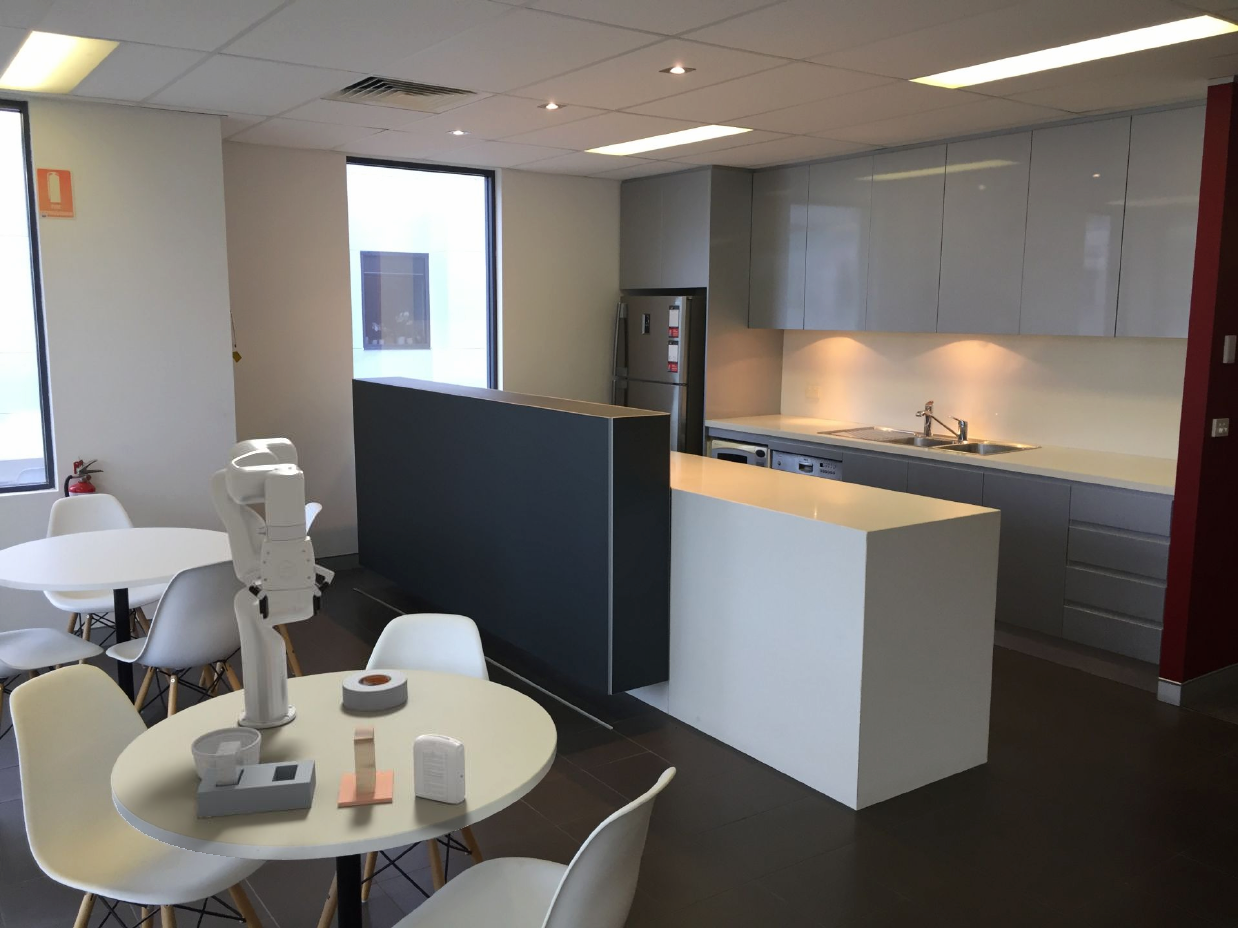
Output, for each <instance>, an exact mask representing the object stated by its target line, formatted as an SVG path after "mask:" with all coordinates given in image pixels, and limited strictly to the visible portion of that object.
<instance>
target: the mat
mask: <svg viewBox="0 0 1238 928" xmlns="http://www.w3.org/2000/svg"><path fill="white" fill-rule="evenodd" d="M394 775H395V774H394V769H389V770H378V771H376V786H375V792H369V793H359V794H356V775H355V773H354V772H353V773H345V774H342V775H341V780H340V786H339V794H338V799H337V800H338V801H337V807H339V808H340V807H349V806H350V807H351V806H352V807H353V806H361V805H369V804H379V803H391V802H393V795H394V794H393V793H394Z"/></svg>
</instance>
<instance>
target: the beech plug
mask: <svg viewBox="0 0 1238 928" xmlns="http://www.w3.org/2000/svg"><path fill="white" fill-rule="evenodd" d="M353 746H354V747H353V751H354V770H355V771H354V772H355V775H356V794H359V793H369V792H375V786H376V747H375V746H376V743H375V725H364V726H355V727H354V735H353Z"/></svg>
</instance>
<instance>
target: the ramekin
mask: <svg viewBox="0 0 1238 928" xmlns="http://www.w3.org/2000/svg"><path fill="white" fill-rule="evenodd" d="M233 741H241V755H242V766H245V765H256V764H260V763H259V762H260V752H261V744H262V735H261V732H260V731H258V730H257V729H256V728H247V727H244V726H233V727H232V726H231V727H224V728H219V729H215V730H211V731H209V732H206V733H203V734H201V735H200V736H197V738H195V740H193V742H192V743H191V748H190V749H191V754H192V756H193V760H194V767H195V770H196V774H197V776H198V777H199V778H200V779H201V781H202V780H203V778H204V775H205V773H206V771H207V769H212V768H216V760H215V755H216V753H217V751H218V749H219V746H220V744H221V742H233Z"/></svg>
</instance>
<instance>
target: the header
mask: <svg viewBox="0 0 1238 928" xmlns="http://www.w3.org/2000/svg"><path fill="white" fill-rule="evenodd" d="M242 771H243V774H242V777H241V780H240V782H239V785H231V786H220V787H217V774H216V768H212V769H207V771H206V773H205V775H204V778H203V780H202V779H201V782H200V785H199V787H198V789H197V791H196V802H197V804H196V805H197V806H196V807H197V818H198V817H206V818H210V817H209V816H216V817H223V816H222V815H226V816H232V815H231V814H236V815H245V814H255V813H264V812H273V811H285V810H295V809H296V810H297V809H304V808H312V805H313V799H314V794H315V789H316V784H317V777H316V773H317V772H316V759H314V758H312V759H302V760H292V761H283V762H269V763H259V764H256V765H245V766H242Z"/></svg>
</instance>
